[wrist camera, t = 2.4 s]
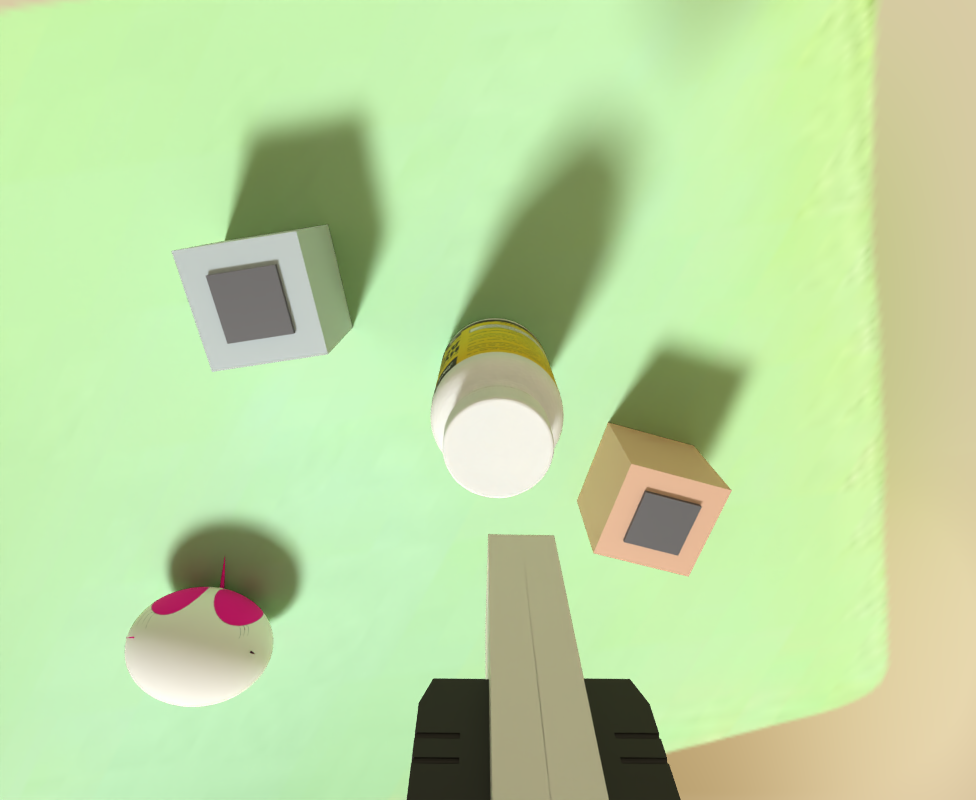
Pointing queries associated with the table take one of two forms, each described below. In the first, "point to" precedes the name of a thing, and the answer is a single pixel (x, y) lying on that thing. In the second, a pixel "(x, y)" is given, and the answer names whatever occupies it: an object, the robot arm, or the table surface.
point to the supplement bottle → (496, 409)
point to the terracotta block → (650, 500)
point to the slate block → (265, 297)
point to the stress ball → (199, 646)
